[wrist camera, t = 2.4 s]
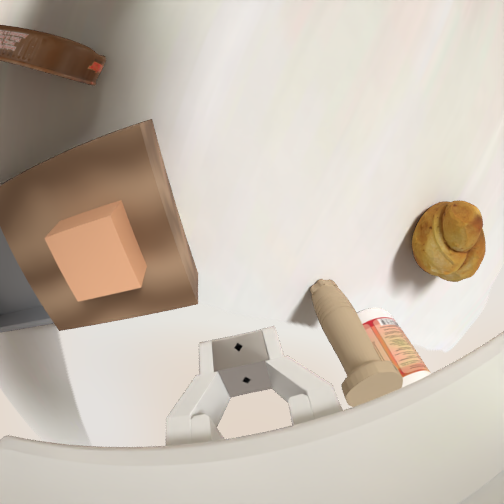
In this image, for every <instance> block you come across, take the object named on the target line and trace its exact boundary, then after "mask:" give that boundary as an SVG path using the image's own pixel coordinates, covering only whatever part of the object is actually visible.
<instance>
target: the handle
mask: <svg viewBox="0 0 504 504" xmlns="http://www.w3.org/2000/svg"><path fill="white" fill-rule="evenodd" d="M337 287H338V286H337V285H336V284H335V282H333V281H332V280H323V279H320V280H318V281H317V283H316V284H314V285H312V286H311V288H310V291H311V294H312V296H311V298H312V301H313V305H314V309H315V312H316V315H317V317H318V320H319V322H320V324H321V327H322V329H323V331H324V333H325V334H326V336H327V338H328V340H329V342H330V343H331V345H332V347H333V349H334V351H335V353H336V354H337V356H338V358H339V360H340V362H341V364H342V366H343V367H344V369H345V371H346V373H347V375H348V376H347V378H346V379H345V380H344V382H343V383H342V390H343V393H344V396H345V398H346V401H347V403H348V404H349V405H350V406H352V407H355V406H358V405H360V404H363V403H366V402H368V401H371V400H374V399H376V398H379V397H381V396H384V395H386V394H388V393H391V392H393V391H395V390H398V389H400V388H402V384H403V378H402V376H401V374H400V372H399V370H398V369H397V367H396V366H395V365H394V364H393V363H392V362H391V361H386V360H385V361H381V359H380V358H379V356H378V354H377V352H376V350H375V348H374V346H373V344H372V342H371V340H370V338H369V336H368V334H367V332H366V330H365V328H364V326H363V324H362V322H361V320H360V318H359V317H358V315H357V313H356V311H355V309H354V308H353V306H352V305H351V303H350V302H349V300H348V299H347V298H346V296H345V295H344V294H343V293H342V291H341V290H340V289H339V288H337Z"/></svg>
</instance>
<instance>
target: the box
mask: <svg viewBox="0 0 504 504" xmlns="http://www.w3.org/2000/svg"><path fill="white" fill-rule="evenodd" d="M6 182H7V181H6ZM3 184H4V183H3ZM1 185H2V184H1ZM52 323H54V322H53V321H52V319H51V318H50V316H49V315H48V313H47V312H46V310H45V309H44V307H43V306H42V304H41V303H40V301H39V299H38V298H37V296H36V294H35V293H34V291H33V289H32V288H31V286H30V284H29V283H28V281H27V279H26V277H25V275H24V274H23V272H22V270H21V268H20V266H19V264H18V263H17V261H16V259H15V257H14V255H13V253H12V251H11V249H10V247H9V245H8V243H7V240H6V238H5V236H4V234H3V232H2V230H1V227H0V332H6V331H12V330H18V329H24V328H30V327H36V326H41V325H47V324H52Z"/></svg>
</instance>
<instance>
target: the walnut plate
mask: <svg viewBox="0 0 504 504" xmlns="http://www.w3.org/2000/svg"><path fill="white" fill-rule="evenodd" d="M120 200H122V203H123V206H124V209H125V211H126V214H127V217H128V220H129V222H130V225H131V227H132V230H133V233H134V235H135V238H136V240H137V243H138V245H139V248H140V250H141V253H142V255H143V258H144V260H145V262H146V265H147V268H146V272H145V275H144V279H143V283H142V287H141V288H137V289H133V290H128V291H124V292H120V293H115V294H111V295H106V296H102V297H97V298H93V299H88V300H84V301H79V302H78V301H77V299H76V298H75V296H74V294H73V292H72V291H71V289H70V287H69V285H68V284H67V282H66V280H65V278H64V276H63V274H62V273H61V271H60V269H59V267H58V265H57V263H56V261H55V259H54V257H53V255H52V253H51V251H50V249H49V247H48V245H47V243H46V241H45V237H46V236H47V234H48V233H49V232H50V231H51V230H52V229H53V228H54V227H55V226H56V225H57V224H58V222H59V221H61V220H64V219H67V218H70V217H72V216H75V215H78V214H81V213H84V212H87V211H89V210H92V209H95V208H98V207H101V206H104V205H107V204H110V203H113V202H117V201H120ZM0 227H1V230H2V232H3V234H4V236H5V238H6V240H7V243H8V245H9V247H10V249H11V251H12V253H13V255H14V257H15V259H16V261H17V263H18V264H19V266H20V268H21V270H22V272H23V274H24V275H25V277H26V279H27V281H28V283H29V284H30V286H31V288H32V289H33V291H34V293H35V294H36V296H37V298H38V299H39V301H40V303H41V304H42V306H43V307H44V309H45V310H46V312H47V313H48V315H49V316H50V318H51V319H52V321H53V322H54V324H55V325H56V327H57V328H58V330H59V331H61V330H67V329H73V328H78V327H84V326H90V325H96V324H101V323H107V322H112V321H117V320H122V319H127V318H133V317H138V316H143V315H148V314H153V313H158V312H163V311H168V310H173V309H177V308H182V307H187V306H191V305H196V304H198V272H197V269H196V266H195V263H194V260H193V257H192V254H191V251H190V248H189V245H188V242H187V239H186V236H185V233H184V229H183V226H182V223H181V220H180V217H179V213H178V210H177V207H176V204H175V200H174V197H173V194H172V190H171V187H170V183H169V180H168V177H167V173H166V170H165V166H164V162H163V159H162V155H161V152H160V148H159V144H158V140H157V137H156V133H155V129H154V125H153V121H152V119H150V120H147V121H144V122H141V123H138V124H135V125H132V126H129V127H126V128H123V129H120V130H117V131H115V132H112V133H109V134H107V135H104V136H101V137H99V138H96V139H94V140H91V141H89V142H86V143H84V144H81V145H79V146H77V147H74V148H72V149H70V150H68V151H65V152H63V153H61V154H59V155H57V156H54V157H52V158H50V159H48V160H46V161H44V162H42V163H40V164H38V165H36V166H34V167H32V168H30V169H28V170H26V171H24V172H23V173H21V174H19V175H17V176H15V177H13V178H12V179H10V180H8V181H7V182H5V183H4V184H2V185H0Z"/></svg>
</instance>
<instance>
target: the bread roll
mask: <svg viewBox="0 0 504 504" xmlns="http://www.w3.org/2000/svg"><path fill="white" fill-rule="evenodd" d="M482 228H483V221H482V216H481V213H480V211H479V210H478V208H477V207H476V206H474V205H472V204H470V203H468V202H465V201H453V202H439V203H437V204H435V205H433V206H432V207H430V208H429V209H428V210H427V211H426V212H425V213H424V214H423V216H422V217H421V218H420V220H419V222H418V223H417V225H416V228H415V231H414V234H413V237H412V249H413V255H414V258H415V260H416V262H417V264H418V265H419V267H421V268H422V269H423V270H424V271H425V272H427V273H429V274H431V275H435V276H438V277H440V278H442V279H444V280H447V281H453V282H458V281H461V280H463V279H466V278H469V277H471V276H472V275H474V273H475V272H476V270H477V269H478V268H479V266H480V264H481V262H482V260H483V258H484V255H485V237H484V232H483V229H482Z"/></svg>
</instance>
